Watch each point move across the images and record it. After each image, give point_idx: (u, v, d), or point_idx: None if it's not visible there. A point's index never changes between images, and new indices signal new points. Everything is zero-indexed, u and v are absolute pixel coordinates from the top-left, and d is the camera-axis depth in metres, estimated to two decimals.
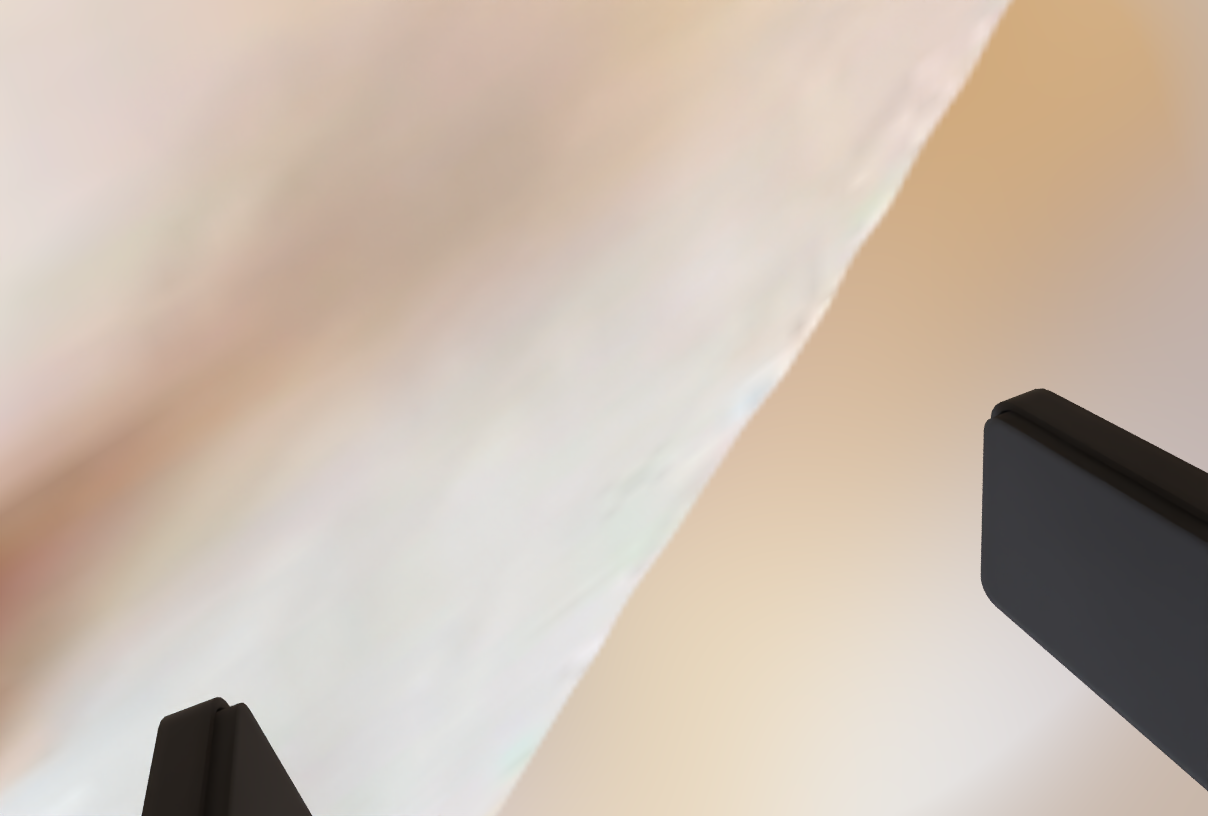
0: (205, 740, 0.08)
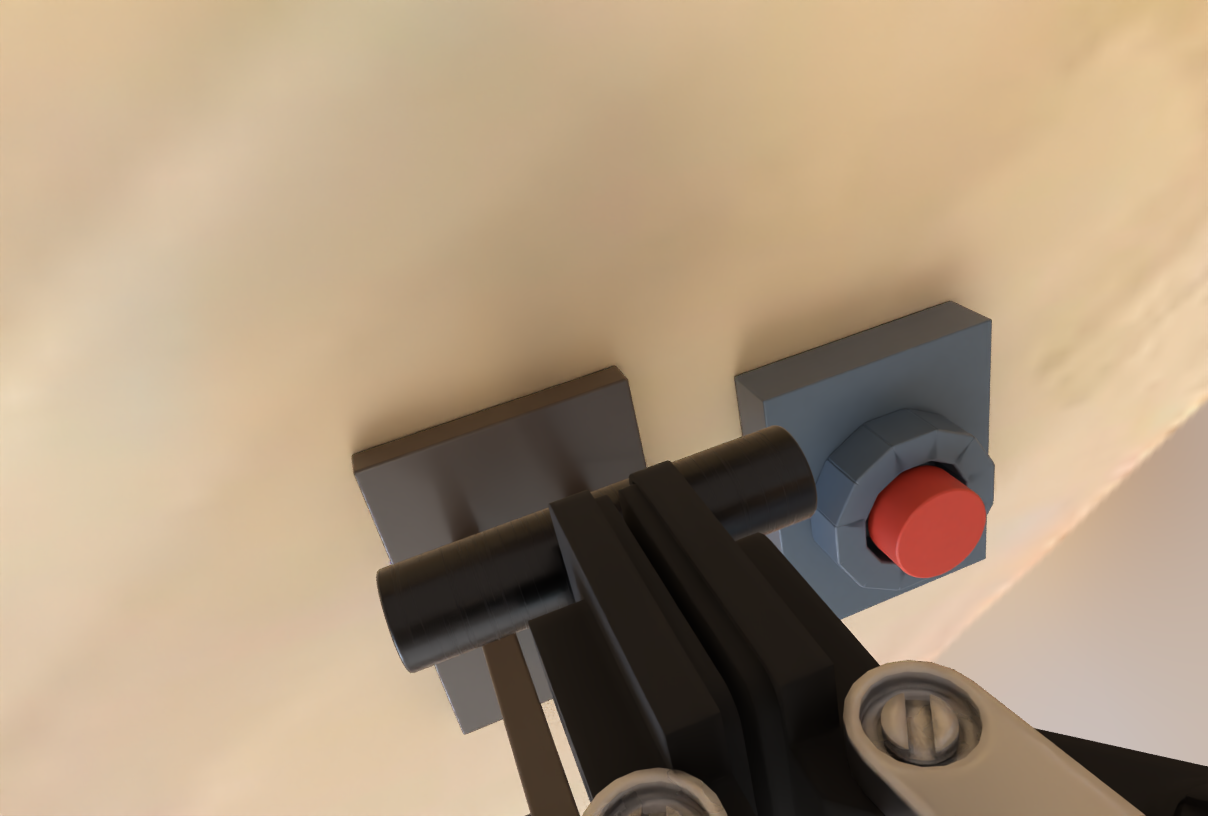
0: (598, 513, 0.10)
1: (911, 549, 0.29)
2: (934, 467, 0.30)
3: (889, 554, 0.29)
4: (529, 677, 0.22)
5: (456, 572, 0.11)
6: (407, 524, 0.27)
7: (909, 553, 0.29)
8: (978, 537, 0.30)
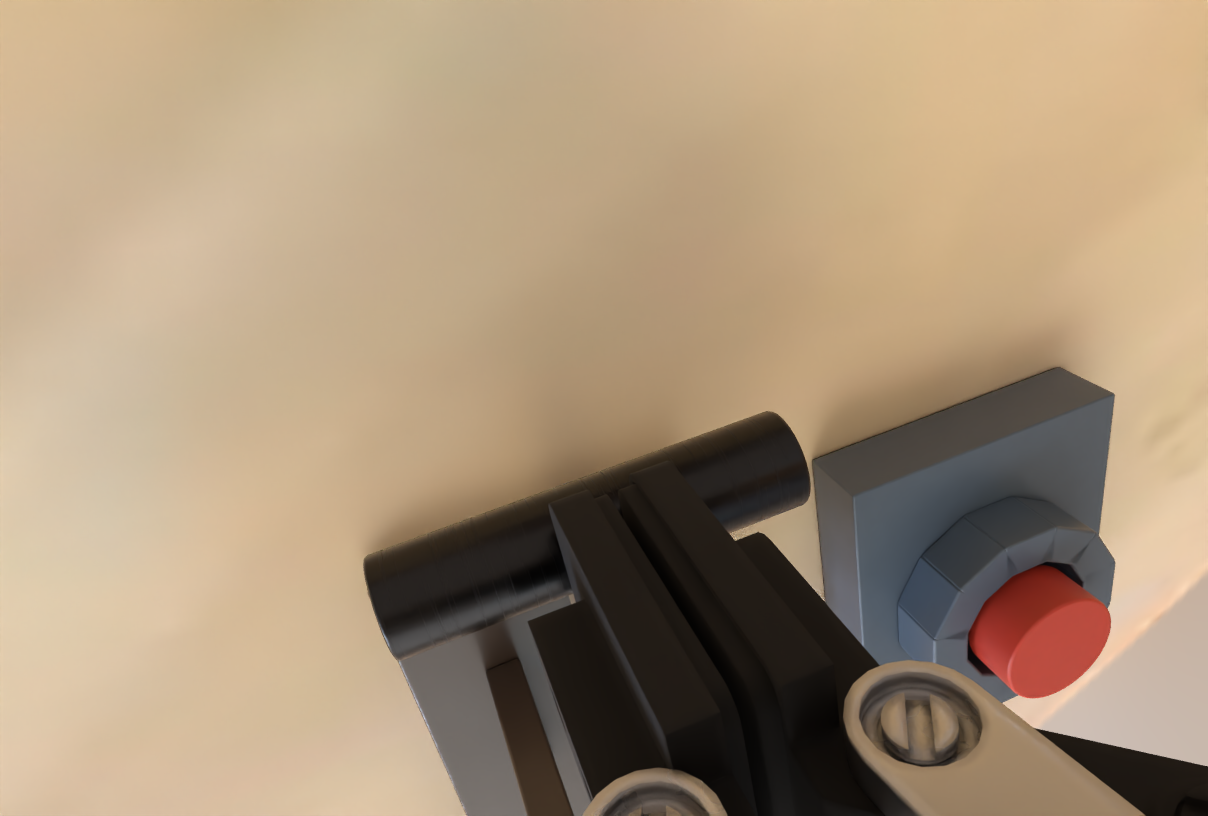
0: (598, 513, 0.10)
1: (1025, 668, 0.24)
2: (1048, 567, 0.25)
3: (997, 671, 0.25)
4: None
5: (439, 540, 0.11)
6: None
7: (1022, 673, 0.24)
8: (1100, 650, 0.25)
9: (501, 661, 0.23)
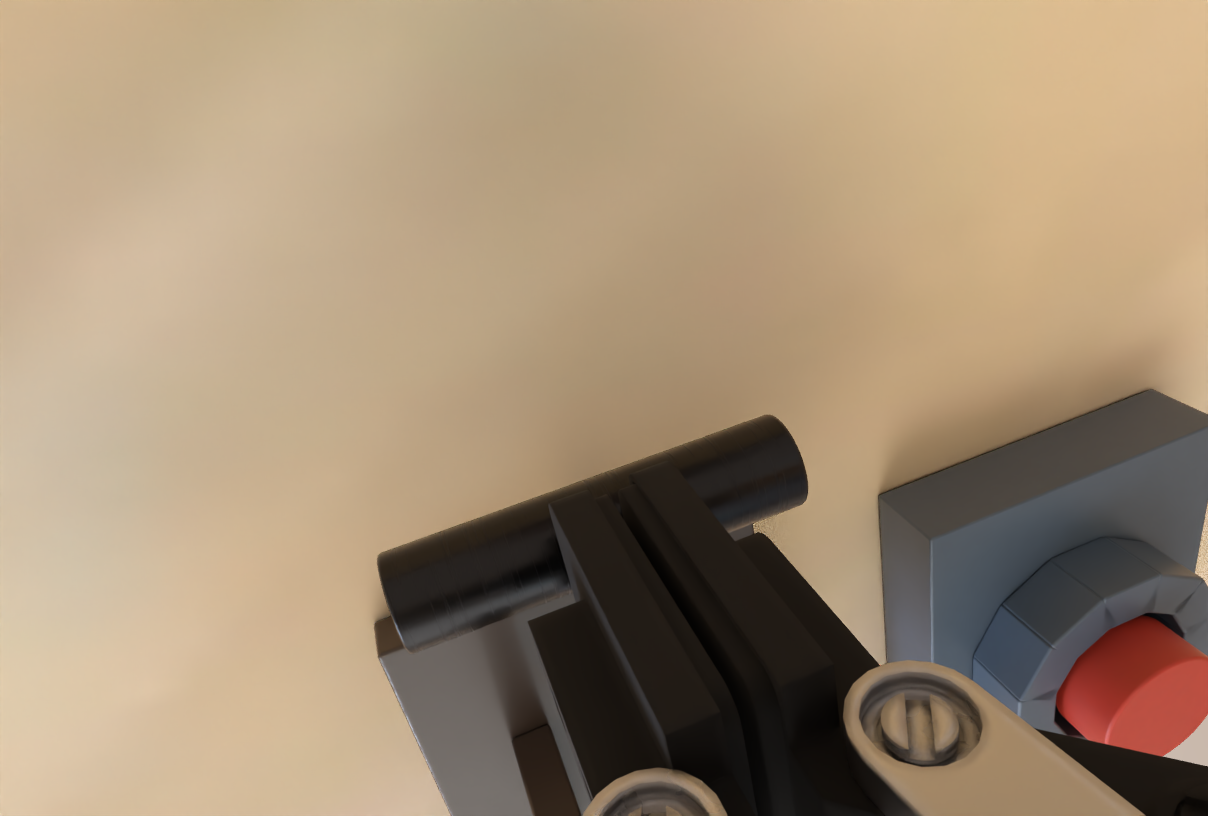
0: (598, 513, 0.10)
1: (1125, 735, 0.21)
2: (1147, 618, 0.22)
3: (1090, 737, 0.22)
4: None
5: (448, 531, 0.12)
6: (450, 715, 0.20)
7: (1122, 740, 0.21)
8: (1207, 712, 0.22)
9: (529, 727, 0.21)
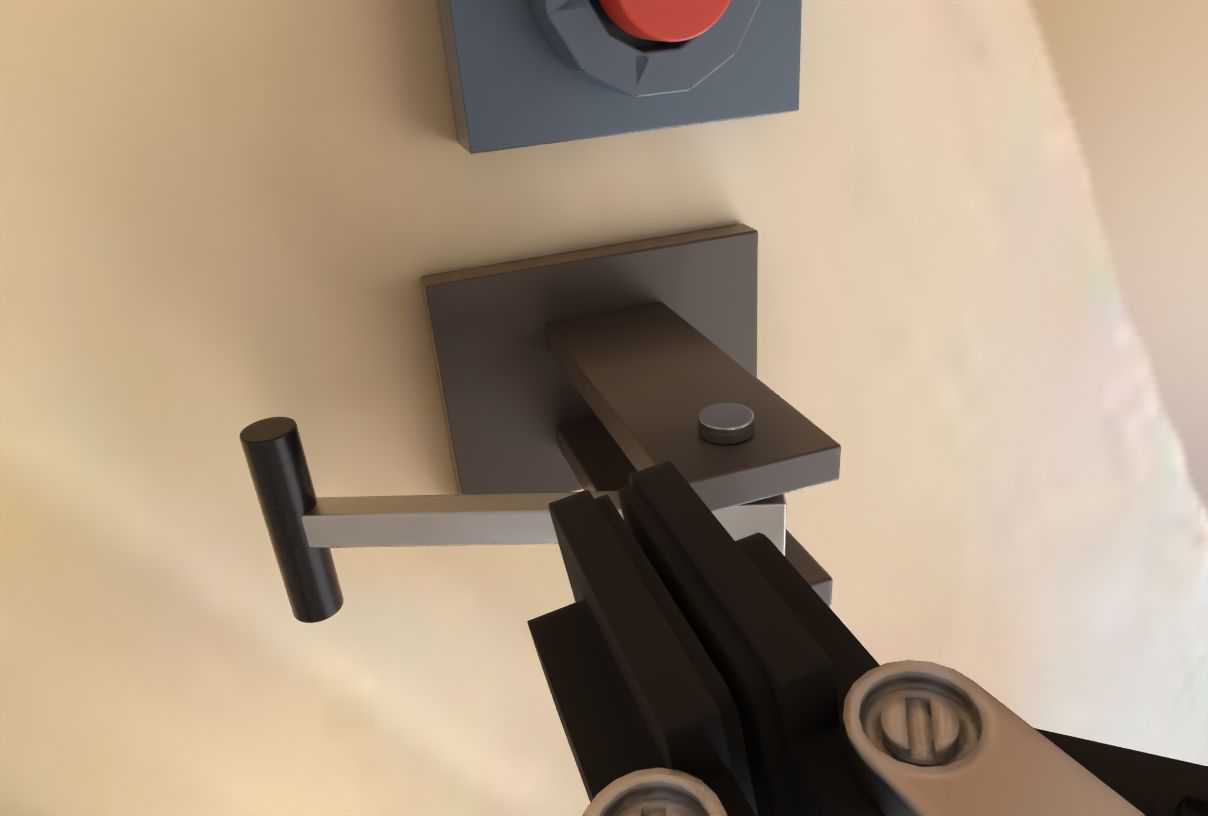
0: (598, 513, 0.10)
1: (681, 18, 0.22)
2: None
3: None
4: None
5: None
6: (525, 481, 0.32)
7: (686, 21, 0.23)
8: None
9: (555, 437, 0.31)
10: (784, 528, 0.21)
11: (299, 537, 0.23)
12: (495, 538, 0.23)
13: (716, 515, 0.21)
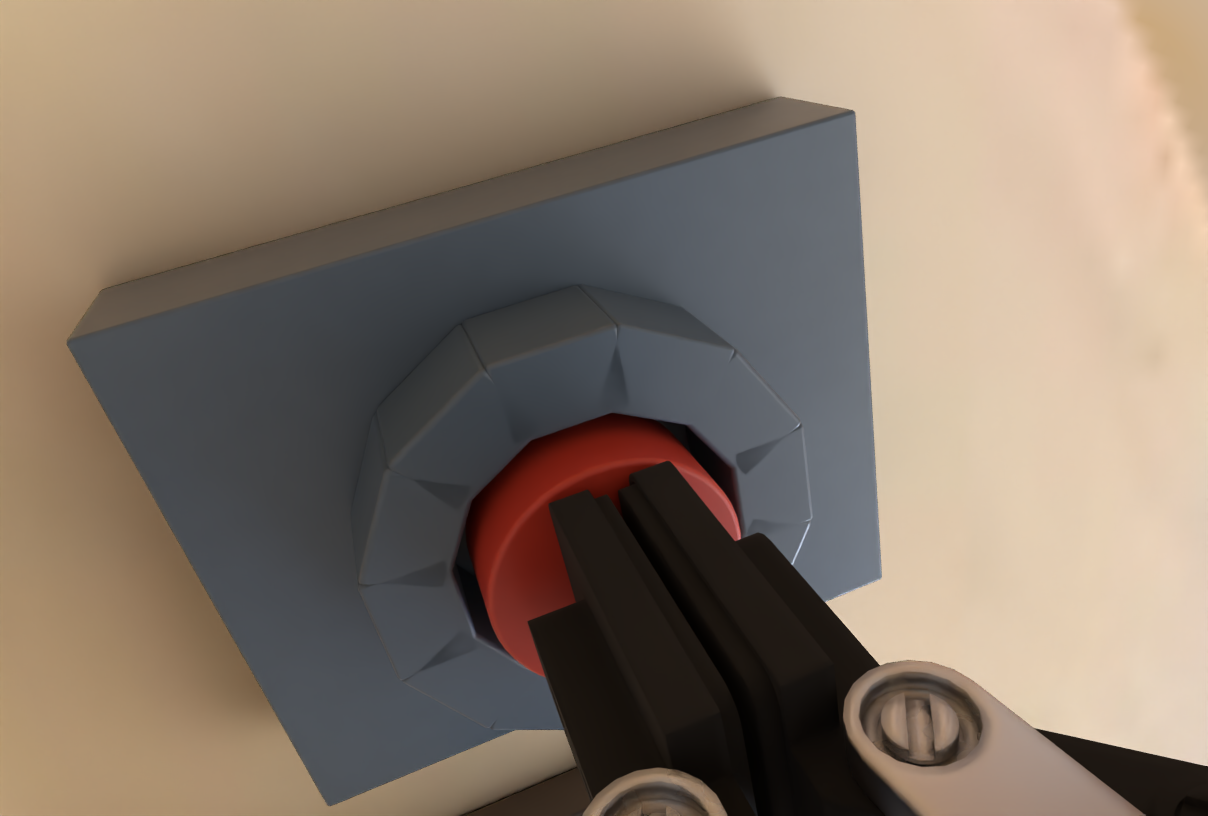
0: (598, 513, 0.10)
1: None
2: (470, 509, 0.12)
3: None
4: None
5: None
6: None
7: None
8: None
9: None
10: None
11: None
12: None
13: None
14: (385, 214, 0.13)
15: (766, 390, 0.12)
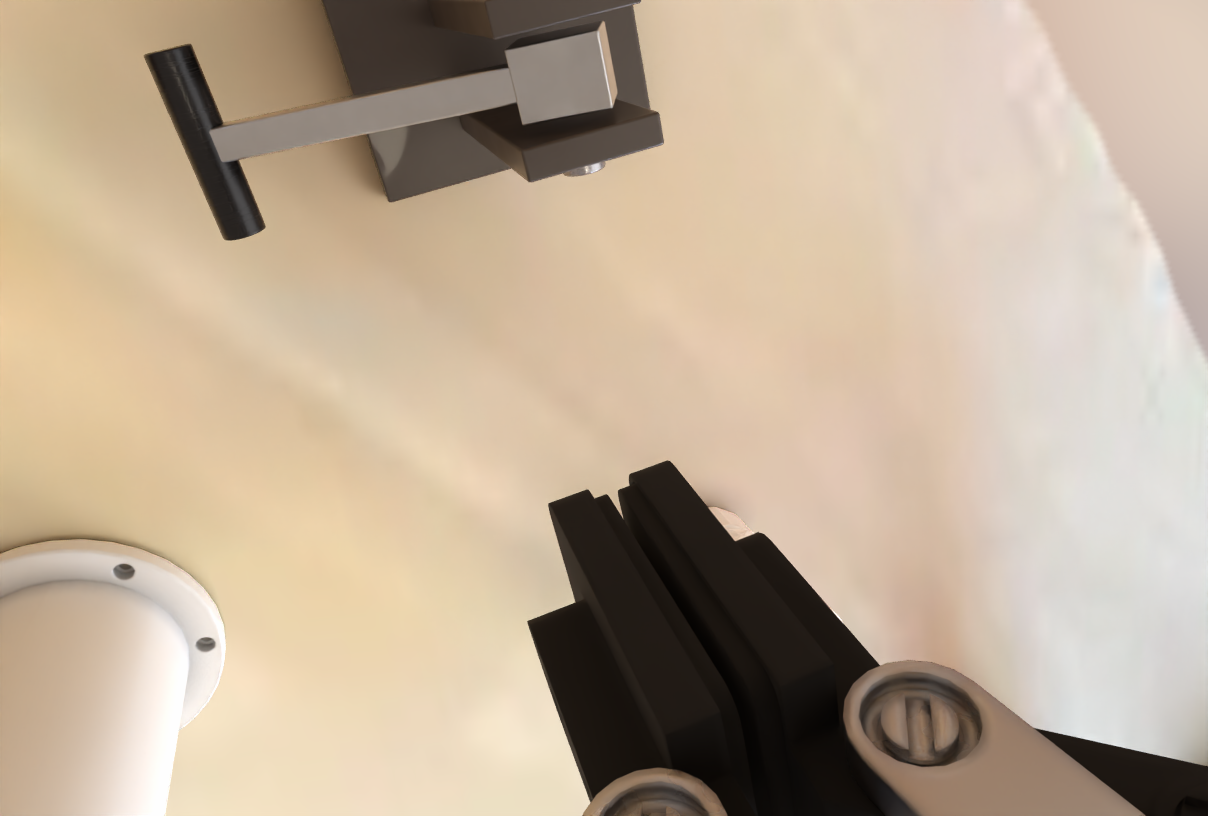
0: (598, 513, 0.10)
1: None
2: None
3: None
4: (489, 129, 0.29)
5: None
6: (438, 165, 0.35)
7: None
8: None
9: (458, 118, 0.35)
10: (602, 57, 0.24)
11: (210, 150, 0.27)
12: (371, 124, 0.27)
13: (541, 53, 0.24)
14: None
15: None
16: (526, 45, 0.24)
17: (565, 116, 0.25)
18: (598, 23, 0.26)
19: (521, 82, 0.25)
